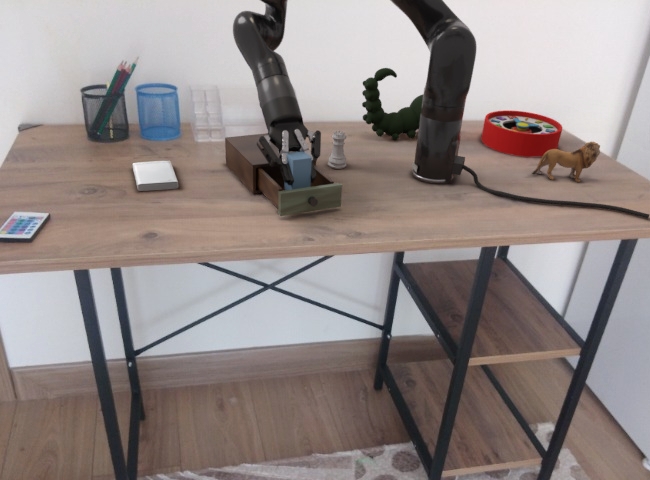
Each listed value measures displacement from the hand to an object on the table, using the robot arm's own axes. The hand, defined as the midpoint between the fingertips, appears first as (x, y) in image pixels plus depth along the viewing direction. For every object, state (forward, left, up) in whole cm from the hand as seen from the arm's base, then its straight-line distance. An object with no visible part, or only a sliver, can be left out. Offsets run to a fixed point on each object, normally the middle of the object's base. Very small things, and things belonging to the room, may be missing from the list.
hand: (301, 181), depth 129 cm
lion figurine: (-51, -42, -5) cm, 66 cm away
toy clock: (-39, -62, -5) cm, 73 cm away
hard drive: (+33, +1, -5) cm, 33 cm away
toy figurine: (-10, -52, -5) cm, 54 cm away
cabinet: (+12, -12, -5) cm, 18 cm away
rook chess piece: (0, -24, -5) cm, 25 cm away
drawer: (+2, -2, -4) cm, 5 cm away
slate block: (+1, -1, -3) cm, 4 cm away
